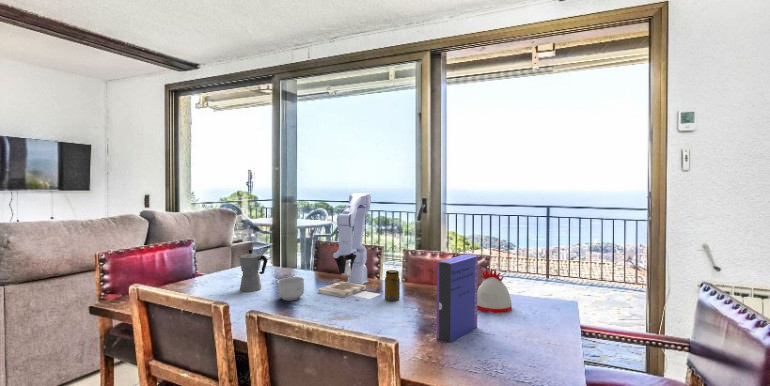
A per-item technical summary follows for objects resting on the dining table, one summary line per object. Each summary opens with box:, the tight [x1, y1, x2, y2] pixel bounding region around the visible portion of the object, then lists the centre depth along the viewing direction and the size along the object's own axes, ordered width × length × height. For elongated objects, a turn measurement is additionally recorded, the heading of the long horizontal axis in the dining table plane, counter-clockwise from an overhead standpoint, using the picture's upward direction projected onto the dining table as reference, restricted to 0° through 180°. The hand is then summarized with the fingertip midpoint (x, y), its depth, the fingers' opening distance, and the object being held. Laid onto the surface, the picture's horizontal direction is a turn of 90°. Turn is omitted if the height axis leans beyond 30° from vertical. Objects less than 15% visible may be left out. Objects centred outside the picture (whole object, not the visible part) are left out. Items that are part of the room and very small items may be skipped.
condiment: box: [384, 269, 401, 302], centre depth 168 cm, size 7×8×12 cm
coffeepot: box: [237, 249, 268, 293], centre depth 185 cm, size 15×9×18 cm, turn 70°
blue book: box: [436, 254, 479, 344], centre depth 132 cm, size 17×5×24 cm, turn 141°
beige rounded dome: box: [477, 268, 513, 314], centre depth 159 cm, size 14×14×15 cm
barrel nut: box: [341, 259, 351, 278], centre depth 181 cm, size 5×5×7 cm
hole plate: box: [317, 281, 367, 298], centre depth 182 cm, size 16×14×2 cm
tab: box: [352, 290, 382, 300], centre depth 175 cm, size 9×9×1 cm
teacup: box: [276, 276, 305, 302], centre depth 172 cm, size 14×11×8 cm
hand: (345, 271), depth 181 cm, fingers closed on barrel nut, 5 cm apart
